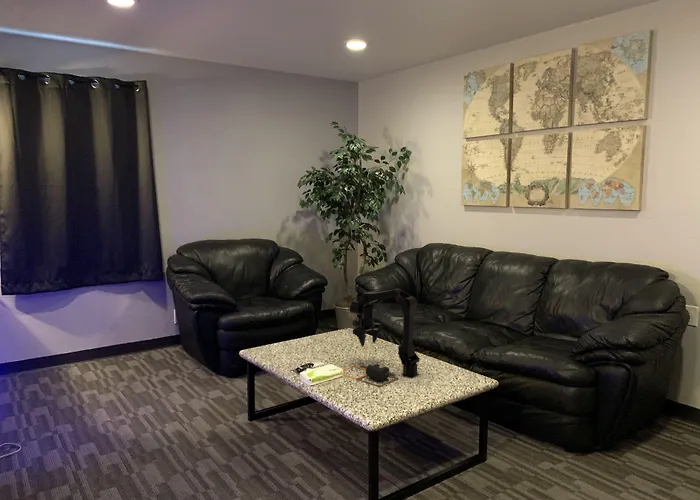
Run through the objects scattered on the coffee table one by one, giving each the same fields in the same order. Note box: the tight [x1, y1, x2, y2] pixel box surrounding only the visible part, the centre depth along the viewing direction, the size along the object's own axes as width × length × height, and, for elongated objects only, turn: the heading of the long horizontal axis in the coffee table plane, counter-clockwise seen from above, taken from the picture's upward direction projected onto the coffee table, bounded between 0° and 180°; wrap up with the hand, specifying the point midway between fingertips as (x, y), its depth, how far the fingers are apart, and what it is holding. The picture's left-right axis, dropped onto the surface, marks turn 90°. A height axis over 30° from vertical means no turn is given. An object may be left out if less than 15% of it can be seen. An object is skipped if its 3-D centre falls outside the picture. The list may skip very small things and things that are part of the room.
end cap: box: [365, 363, 390, 383], centre depth 256 cm, size 10×7×7 cm
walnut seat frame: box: [356, 374, 400, 388], centre depth 256 cm, size 15×15×1 cm
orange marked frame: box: [341, 365, 366, 381], centre depth 266 cm, size 15×15×1 cm
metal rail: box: [360, 363, 397, 377], centre depth 267 cm, size 22×2×1 cm, turn 47°
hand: (368, 344), depth 277 cm, fingers open, 9 cm apart
